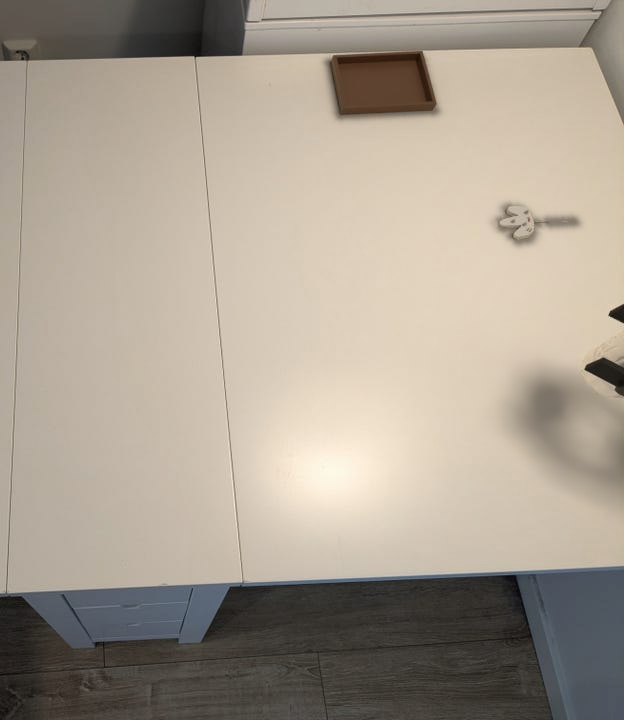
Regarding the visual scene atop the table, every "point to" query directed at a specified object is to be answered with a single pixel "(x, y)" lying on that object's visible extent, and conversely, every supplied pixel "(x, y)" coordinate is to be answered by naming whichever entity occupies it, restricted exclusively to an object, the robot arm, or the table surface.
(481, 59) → the table surface
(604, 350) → the white cup
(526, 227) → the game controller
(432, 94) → the tray
